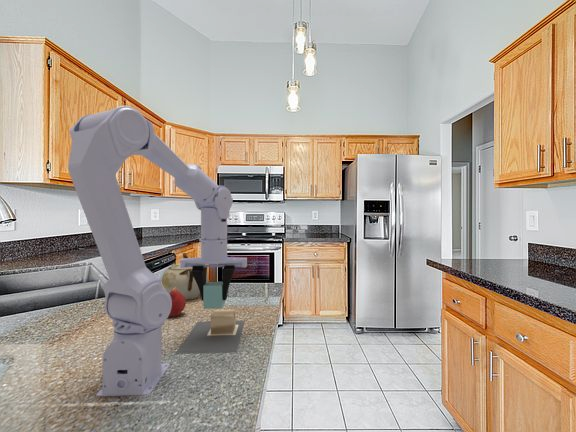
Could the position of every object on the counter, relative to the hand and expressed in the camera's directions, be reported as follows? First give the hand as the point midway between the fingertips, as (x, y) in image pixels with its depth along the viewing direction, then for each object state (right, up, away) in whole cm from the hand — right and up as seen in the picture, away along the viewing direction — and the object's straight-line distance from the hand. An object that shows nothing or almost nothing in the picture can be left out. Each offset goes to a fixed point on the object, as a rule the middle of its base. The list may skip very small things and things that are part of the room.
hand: (214, 299), depth 68 cm
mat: (0, -9, 0) cm, 9 cm away
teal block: (0, -2, 0) cm, 2 cm away
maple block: (+1, -8, +4) cm, 9 cm away
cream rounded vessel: (-18, -9, +35) cm, 40 cm away
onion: (-14, -9, +14) cm, 22 cm away
